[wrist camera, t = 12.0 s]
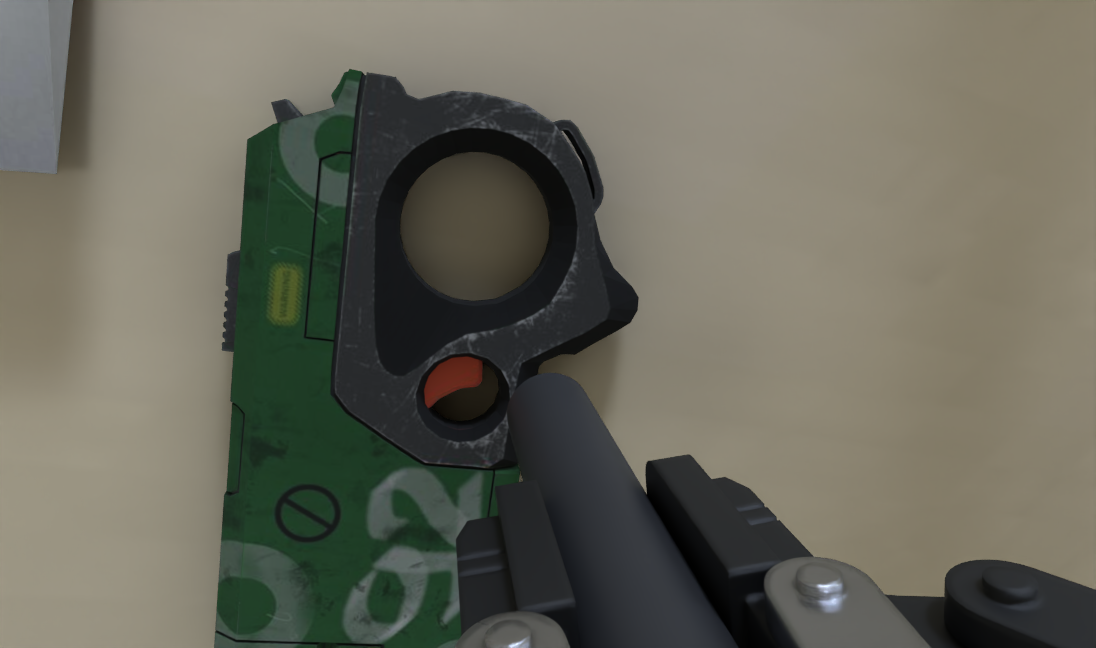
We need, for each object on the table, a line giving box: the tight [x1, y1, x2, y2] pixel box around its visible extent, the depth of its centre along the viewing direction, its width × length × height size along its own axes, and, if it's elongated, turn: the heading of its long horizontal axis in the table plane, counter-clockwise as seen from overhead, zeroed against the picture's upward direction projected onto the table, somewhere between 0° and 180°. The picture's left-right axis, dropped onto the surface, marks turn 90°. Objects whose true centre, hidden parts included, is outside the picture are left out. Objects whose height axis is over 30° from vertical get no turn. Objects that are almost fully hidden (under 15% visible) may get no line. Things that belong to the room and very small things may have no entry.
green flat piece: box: [214, 69, 638, 648], centre depth 19 cm, size 16×1×10 cm
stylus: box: [507, 373, 739, 648], centre depth 13 cm, size 2×2×12 cm
